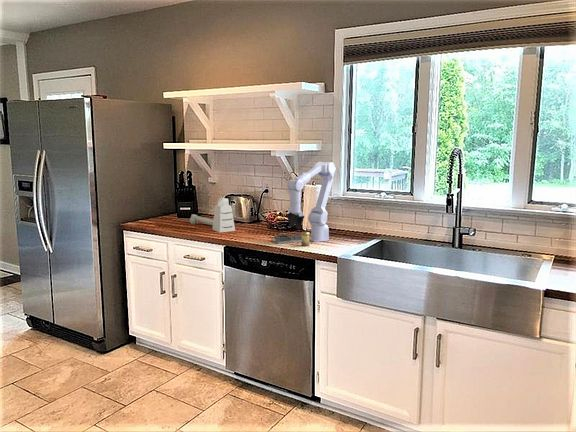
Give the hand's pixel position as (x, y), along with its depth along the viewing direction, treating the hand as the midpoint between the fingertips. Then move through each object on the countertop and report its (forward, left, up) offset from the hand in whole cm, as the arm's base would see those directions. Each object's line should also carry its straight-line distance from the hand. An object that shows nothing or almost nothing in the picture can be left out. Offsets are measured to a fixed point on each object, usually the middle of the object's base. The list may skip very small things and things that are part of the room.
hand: (295, 227), depth 255 cm
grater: (+22, -57, -10) cm, 62 cm away
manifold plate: (-2, -11, -10) cm, 15 cm away
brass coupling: (-5, +3, -10) cm, 11 cm away
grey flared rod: (+28, -81, -10) cm, 86 cm away
